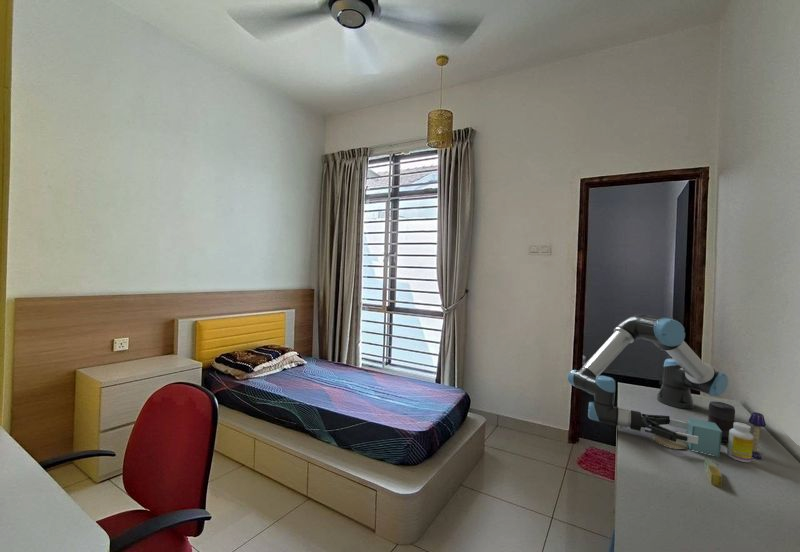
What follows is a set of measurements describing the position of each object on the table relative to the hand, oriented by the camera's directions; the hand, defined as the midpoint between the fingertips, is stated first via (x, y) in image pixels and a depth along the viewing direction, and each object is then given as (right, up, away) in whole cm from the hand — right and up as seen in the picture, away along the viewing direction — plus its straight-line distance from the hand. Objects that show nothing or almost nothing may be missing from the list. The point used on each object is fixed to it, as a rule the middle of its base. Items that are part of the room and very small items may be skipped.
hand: (693, 433), depth 140 cm
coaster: (-7, -5, +3) cm, 9 cm away
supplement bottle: (+12, -7, -6) cm, 15 cm away
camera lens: (+17, -6, +7) cm, 19 cm away
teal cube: (+3, -6, -1) cm, 7 cm away
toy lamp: (+19, -7, -4) cm, 21 cm away
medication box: (-10, -7, -19) cm, 22 cm away
